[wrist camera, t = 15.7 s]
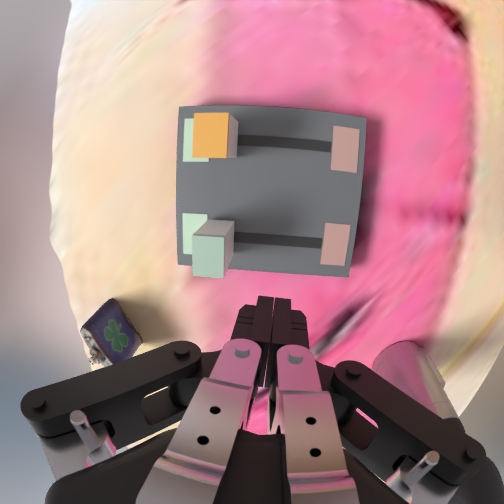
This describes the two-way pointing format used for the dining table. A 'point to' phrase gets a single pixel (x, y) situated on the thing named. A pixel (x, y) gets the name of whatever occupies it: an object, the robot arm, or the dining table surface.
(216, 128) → the block
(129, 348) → the flask
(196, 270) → the block
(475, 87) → the dining table surface
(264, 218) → the dual slider panel
